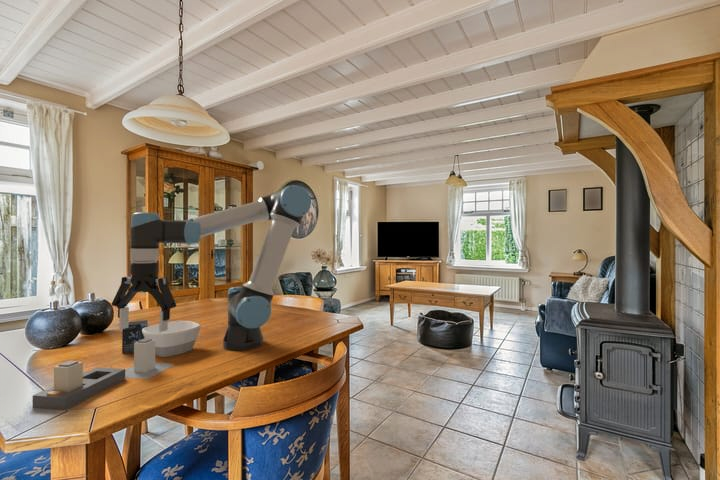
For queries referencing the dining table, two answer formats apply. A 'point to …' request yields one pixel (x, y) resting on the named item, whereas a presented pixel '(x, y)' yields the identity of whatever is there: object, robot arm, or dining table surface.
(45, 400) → the grey socket block
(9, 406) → the dining table surface
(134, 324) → the box
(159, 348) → the bowl
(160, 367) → the tray
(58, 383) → the twin plug
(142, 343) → the plug
